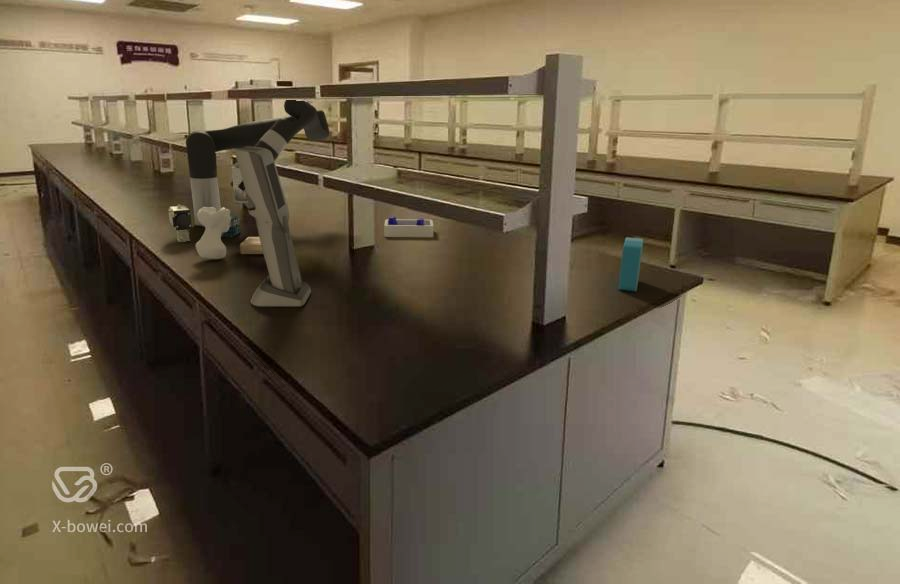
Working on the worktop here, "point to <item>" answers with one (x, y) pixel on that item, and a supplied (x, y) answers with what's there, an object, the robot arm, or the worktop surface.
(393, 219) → the cable clip
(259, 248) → the stand
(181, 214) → the pneumatic valve
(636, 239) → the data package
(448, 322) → the worktop surface
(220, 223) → the white lobed block
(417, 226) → the clip tray
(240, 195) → the housing
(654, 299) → the worktop surface
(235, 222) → the puzzle
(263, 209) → the thermal camera
